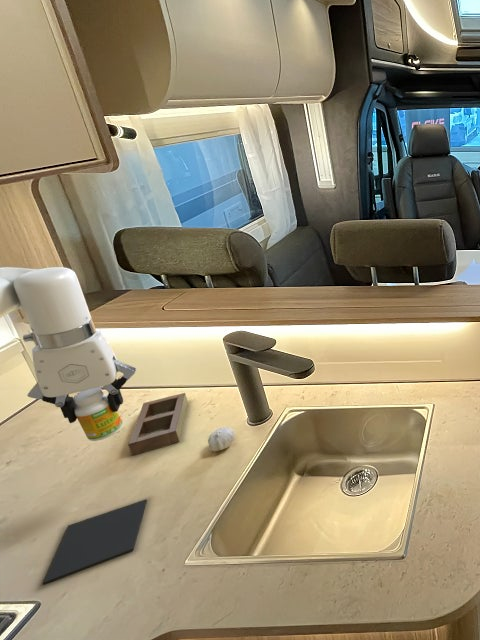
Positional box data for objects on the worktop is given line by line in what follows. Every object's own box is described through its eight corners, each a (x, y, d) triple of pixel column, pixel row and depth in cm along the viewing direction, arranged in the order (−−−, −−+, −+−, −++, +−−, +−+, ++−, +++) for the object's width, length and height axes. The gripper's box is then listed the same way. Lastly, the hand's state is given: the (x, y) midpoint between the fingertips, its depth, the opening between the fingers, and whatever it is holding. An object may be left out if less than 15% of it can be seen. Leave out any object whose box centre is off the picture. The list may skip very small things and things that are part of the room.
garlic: (225, 456, 99) (221, 439, 97) (203, 455, 99) (198, 438, 97) (242, 437, 104) (238, 420, 103) (221, 436, 105) (216, 420, 103)
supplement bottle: (103, 443, 81) (83, 404, 77) (80, 440, 82) (59, 401, 78) (130, 423, 86) (113, 385, 82) (109, 420, 87) (90, 383, 83)
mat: (43, 584, 72) (42, 582, 72) (69, 527, 82) (68, 525, 81) (133, 550, 78) (132, 548, 77) (147, 500, 87) (146, 499, 87)
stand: (132, 455, 98) (128, 444, 97) (146, 413, 111) (143, 402, 110) (179, 441, 103) (175, 430, 101) (188, 402, 116) (185, 392, 115)
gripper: (-13, 356, 69) (26, 441, 75) (123, 331, 77) (148, 409, 83) (7, 335, 75) (42, 416, 81) (131, 314, 83) (155, 389, 89)
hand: (96, 412), depth 82 cm, fingers closed on supplement bottle, 5 cm apart
